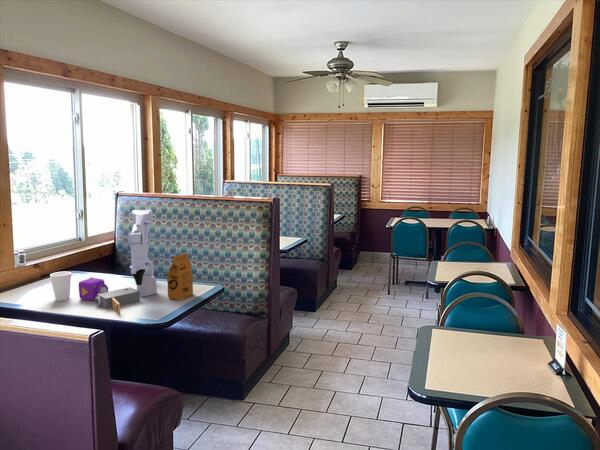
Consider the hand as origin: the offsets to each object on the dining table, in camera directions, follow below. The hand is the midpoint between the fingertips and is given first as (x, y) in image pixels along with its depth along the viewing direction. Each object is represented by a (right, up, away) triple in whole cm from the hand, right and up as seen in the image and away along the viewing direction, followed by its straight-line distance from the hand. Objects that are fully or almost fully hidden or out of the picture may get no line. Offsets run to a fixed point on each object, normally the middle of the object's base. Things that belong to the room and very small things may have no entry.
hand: (139, 284), depth 246 cm
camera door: (-8, -11, -9) cm, 16 cm away
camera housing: (-11, -9, +3) cm, 15 cm away
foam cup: (-42, -8, +10) cm, 43 cm away
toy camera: (-25, -8, +10) cm, 29 cm away
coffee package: (+17, -8, +12) cm, 23 cm away
